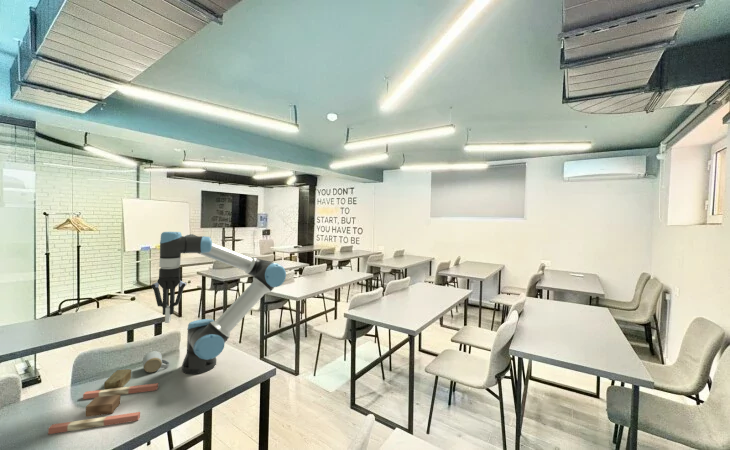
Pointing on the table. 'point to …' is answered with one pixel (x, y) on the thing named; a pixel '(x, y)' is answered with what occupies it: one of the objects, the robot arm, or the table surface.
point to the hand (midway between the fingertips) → (167, 321)
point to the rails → (100, 421)
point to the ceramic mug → (154, 361)
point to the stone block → (118, 379)
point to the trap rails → (109, 419)
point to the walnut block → (103, 405)
